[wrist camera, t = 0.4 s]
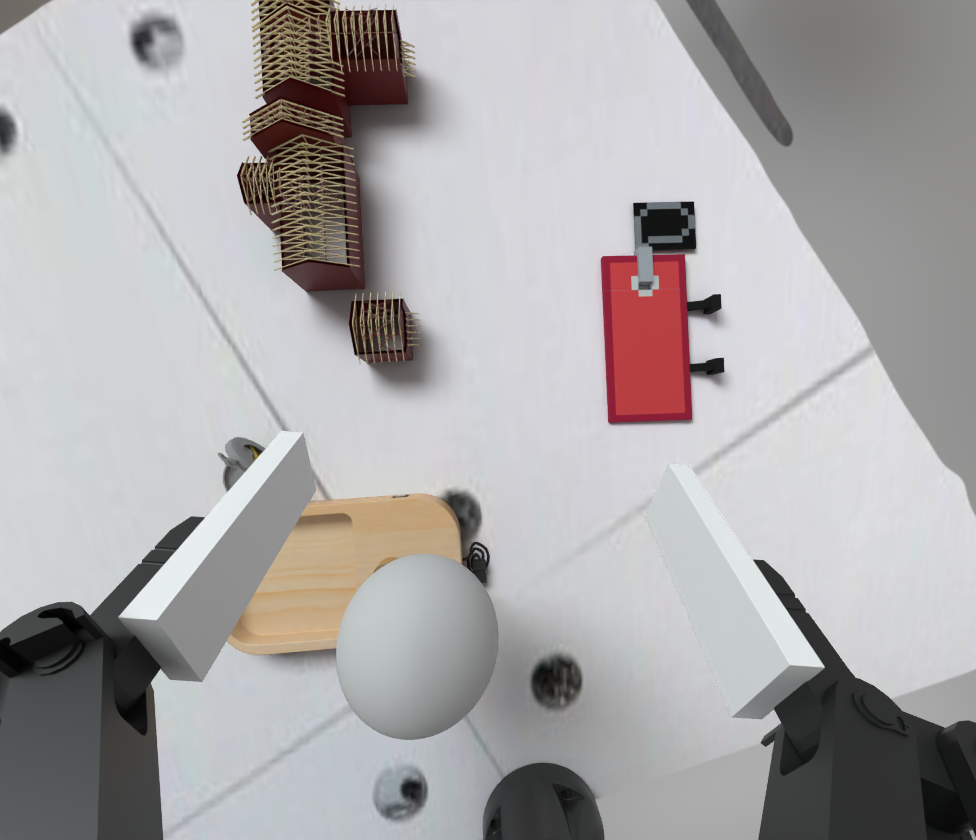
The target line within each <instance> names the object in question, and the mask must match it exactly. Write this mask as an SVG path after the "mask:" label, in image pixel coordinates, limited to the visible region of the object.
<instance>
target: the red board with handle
mask: <svg viewBox="0 0 976 840" xmlns="http://www.w3.org/2000/svg"><path fill="white" fill-rule="evenodd" d="M633 206H634V230H635V251H634V256H603V257H602V258H601V272H602V294H603V316H604V338H605V360H606V382H607V403H608V422H634V421H663V420H691V419H692V404H691V381H690V372H695V371H707V375H713V374H718V373H722V372H724V358H715V359H712V360H708V361H706V363H699V364H690V359H689V336H688V314H687V311H691V310H701V309H703V312H704V314H711V313H713V312H715V311H717V310H719V309H721V294H715V295H712V296H710V297H709V298H707V299H705V300H703V301H694V302H687V292H686V269H685V254H677V255H652V250H668V249H696V236H695V213H694V202H654V203H633ZM638 285H649V290H639V288H638Z"/></svg>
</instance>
